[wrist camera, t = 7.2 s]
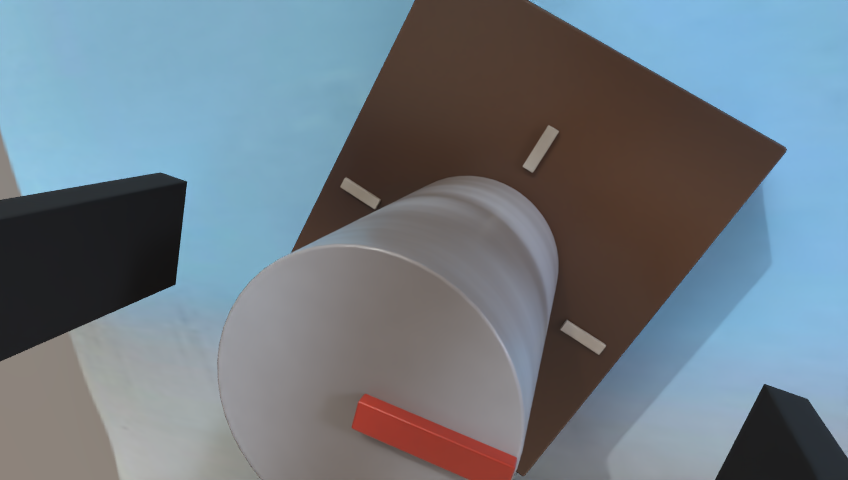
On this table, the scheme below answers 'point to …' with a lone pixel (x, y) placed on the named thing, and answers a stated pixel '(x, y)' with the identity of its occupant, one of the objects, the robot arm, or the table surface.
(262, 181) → the table surface
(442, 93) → the control panel
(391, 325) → the knob
